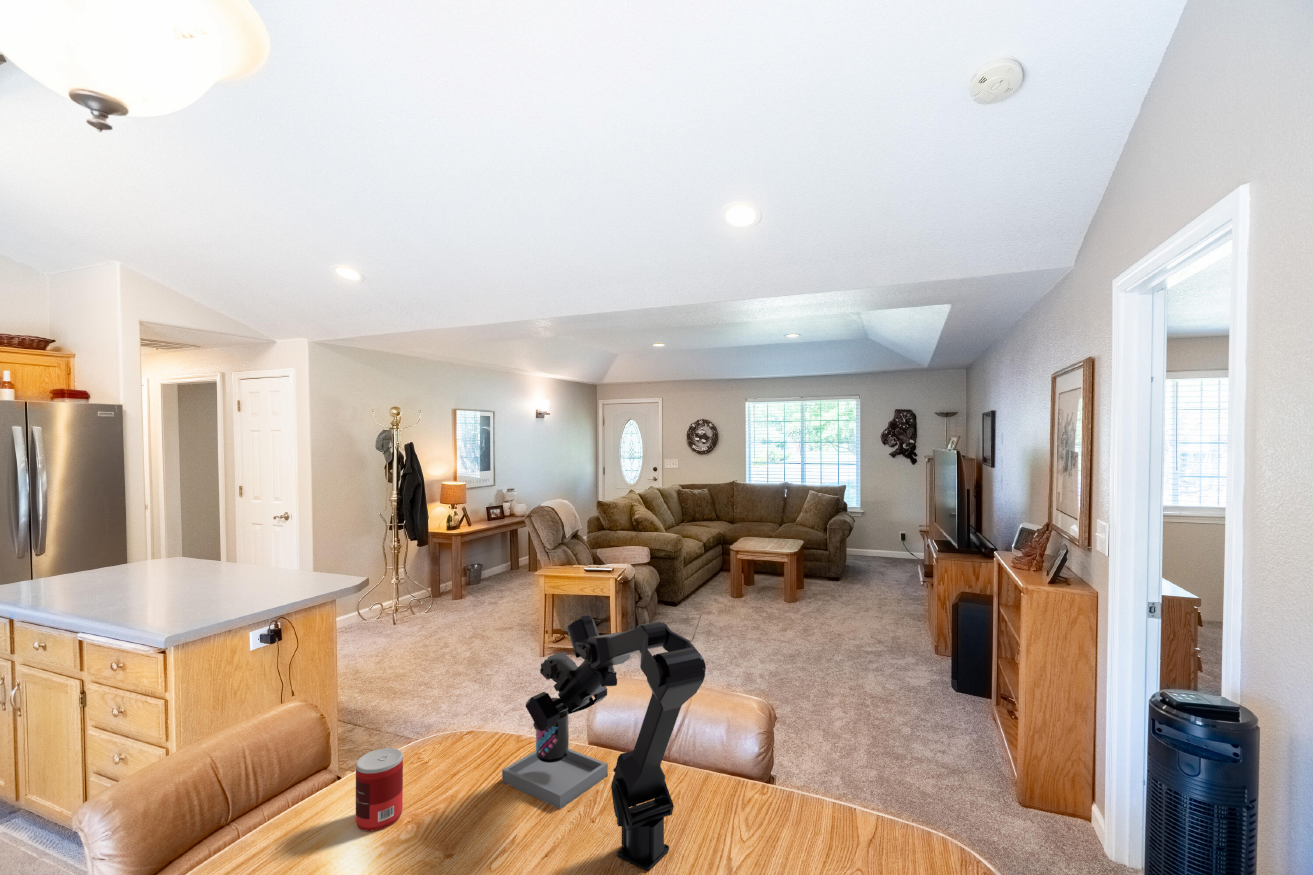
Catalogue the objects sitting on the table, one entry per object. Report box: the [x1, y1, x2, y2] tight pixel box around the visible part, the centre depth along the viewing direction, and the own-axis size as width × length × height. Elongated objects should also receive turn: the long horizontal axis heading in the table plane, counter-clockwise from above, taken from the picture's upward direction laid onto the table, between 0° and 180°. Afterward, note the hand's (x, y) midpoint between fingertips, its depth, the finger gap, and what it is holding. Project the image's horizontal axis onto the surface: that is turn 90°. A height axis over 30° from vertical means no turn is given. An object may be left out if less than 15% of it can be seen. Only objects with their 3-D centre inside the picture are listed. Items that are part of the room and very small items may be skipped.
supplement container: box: [535, 697, 570, 763], centre depth 125 cm, size 7×7×10 cm
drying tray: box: [501, 748, 609, 810], centre depth 125 cm, size 16×14×2 cm
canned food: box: [355, 747, 404, 832], centre depth 112 cm, size 8×8×11 cm
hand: (547, 720), depth 126 cm, fingers closed on supplement container, 7 cm apart
